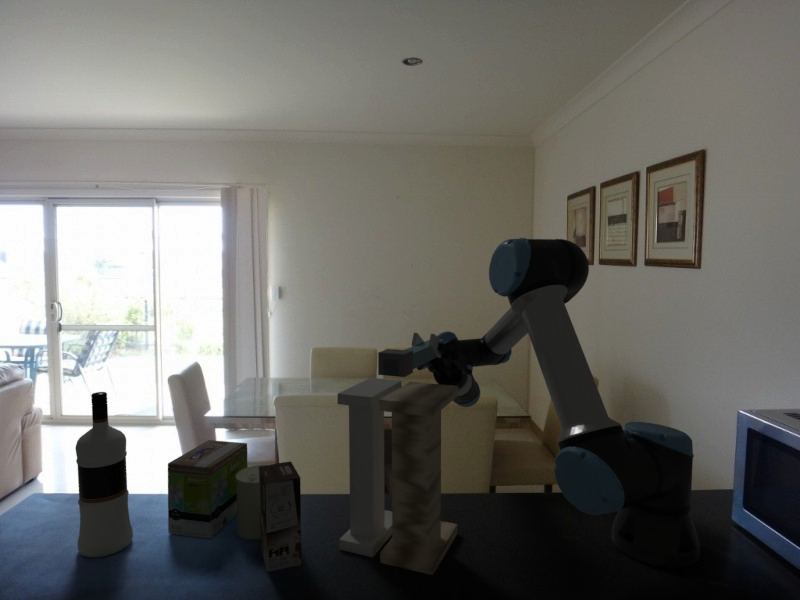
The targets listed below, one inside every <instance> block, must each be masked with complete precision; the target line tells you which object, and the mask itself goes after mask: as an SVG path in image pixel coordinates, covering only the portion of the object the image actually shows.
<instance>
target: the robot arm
mask: <svg viewBox="0 0 800 600" xmlns="http://www.w3.org/2000/svg"><path fill="white" fill-rule="evenodd" d="M588 260H589V259H588V257H587V255H586V253H585V251H584V250H583V249H582V248H581V247H580V246H579V245H578V244H576V243H574V242H573V241H570V240H568V239H564V238H555V239H553V238H548V239H547V238H526V237H519V238H508V239H506V240H503V241H502V242H500V243H499V245H498V246H497V247H496V249H495V250H494V252H493V253H492V256H491V258H490V262H489V267H488V278H489V284H490V286H491V289H492V290H493V291H494V293H495V294H498V296H500V297H507V299H508V302H509V305H510V308H509V309H508V310H507V311H506V312H505V313H504V314H503V315H502V316H501V318H500V319H498V320H497V322H495V324H493V326H492V327H491V328H490V329H489V330H488V331H487V332H486V333H485V334H484V335H482V337H481V338H480V337H479V338H470V339H469V338H468V339H458V337H457V335H456V334H455V333H454V332H451V331H443V332H440V333H438V334H435V333H430V338H429V340H430V341H429V347H430V348H431V350H432V351H433V352H434V353H435V355H436V356H437V357H436V358H434V359H432V360H431V361H429V362H427V363H425V364H423V365H421V366H419V367H417V368H416V370H417V371H422V370H425V369H427V370H428V371H429V372H430V373H432V375H433V377H434V380H435V382H436V384H442V385H453V386H458V397H456V398H455V399H454V400H453V401H452V402H454V403H455V404H456V405H458V406H460V407H463V408H469V407H473V406H474V405H475V404H477V403H478V402H479V400H480V398H481V389H480V386H479V383H478V381H476V379H475V378H474V375H473V369H474V367H475V368H476V367H486V366H498V365H500V364H505V363H507V362H508V361H509V360H510V359H511V355H512V354H513V353H512V348H513V347H514V346H516V345H517V344H518V343H519V342H520V341H521V340H522V339H523V338H525V336H527V335H528V336H529V340H530V343H531V345H532V348H533V350H534V353H535V356H536V359H537V363H538V364H539V368H540V370H541V373H542V375H543V379H544V382H545V385H546V389H547V390H548V393H549V395H550V399H551V401H552V404H553V407H554V410H555V414H556V416H557V419H558V422H559V425H560V427H561V433H560V435H559V437H558V439H557V444H558V447H559V450H560V451H559V452H558V453H557V454H556V456H555V458H554V464H555V465H554V467H553V471H554V472H553V473H554V478H555V480H556V483H557V486H558V488H559V490H560V492H561V493H562V495H563V496H564V497H565V499H566V500H567V501H568V502H569V503H570V504H571V505H572V506H574V507H576V509H577V510H579V511H580V512H582V513H585V514H587V515H592V516H593V515H594V516H597V515H598V516H600V515H605V514H612V513H617V514H616V515H615V518H614V520H613V523H612V526H611V541H612V543H613V545H614V546H615V547H616V548H617V549H618V551H620V552H621V553H623V554H625V555H626V556H628V557H630V558H632V559H633V560H636V561H638V562H641V563H644V564H647V565H651V566H655V567H661V568H667V569H668V568H669V569H671V568H672V569H680V568H687V567H691V566H693V565H694V564H696V563H697V562H698V561H699V560H700V557H701V552H700V551H701V544H700V539H699V536H698V533H697V530H696V527H695V523H694V520H693V517H692V513H691V508H692V506H691V503H692V482H693V461H694V457H695V455H694V452H693V451H694V450H693V449H694V447H693V440H692V438H691V437H690V435H688V434H687V433H685V432H684V431H682V430H680V429H676V428H673V427H671V426H666V425H662V424H658V423H652V422H644V421H628V422H626V423H625V425H624V429H623V426H622V424H621V423H619V422H618V421H616V420H614V419H612V418H611V417H610V416H609V415H608V413H607V409H606V407H605V404H604V402H603V399H602V397H601V394H600V391H599V389H598V386H597V384H596V381H595V378H594V376H593V374H592V370H591V368H590V365H589V364H588V363H589V362H588V360H587V358H586V356H585V353H584V349H583V348H582V345H581V343H580V340H579V337H578V335H577V333H576V330H575V327H574V324H573V322H572V319H571V317H570V315H569V312H568V309H567V307H566V304H567V303H569V302H570V301H571V300H572V299H573V298H574V297H576V296H577V295H578V293H580V291H581V290H582V288H584V286H585V284H586V282H587V279H588V277H589V272H590V266H589V264H590V263H589V261H588ZM439 339H441V340H444V344H443V343H441V342H440V341H439ZM423 342H425V340H424V339H423V338H422V337H421V336H420V334H419V333H418V332H413V336H412V341H411V347H413V346H415V345H418V344H420V343H423Z"/></svg>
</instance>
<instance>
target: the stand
mask: <svg viewBox="0 0 800 600" xmlns="http://www.w3.org/2000/svg"><path fill="white" fill-rule="evenodd" d="M400 387H402V380H396V379H388V378H387V379H385V378H375V377H369V378H368V379H366V380H363V381H362V382H359V383H357V384H355V385H353V386H350V387H348V388H346V389H344V390H343V391H340V392H338V393H337V394H336V395H337V405H341V406H342V405H343V406H348V439H349V440H348V447H349V449H348V450H349V451H348V453H349V455H348V456H349V457H348V458H349V459H348V460H349V529H348V530H347V531H346V532H345V533H344V534H343V535H342V536H341V537H340V538H339V539H338V540H339V542H338V543H339V546H338V547H339V550H340V551H343V552H349V553H353V554H356V555H361V556H365V557H368V558H369V557H370V558H374V557H375V556H376V554H377V553H378V552H380V550H381V549H382V547H383V546H384V545H385V544H386V542H387V541H388V540H390V539H391V537H392V510H386V508H385V411H379V400H380V399H381V398H383V397H385V396H387V395H388V394H390V393H392V392H393V391H395V390H397V389H399V388H400Z"/></svg>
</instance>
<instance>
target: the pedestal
mask: <svg viewBox="0 0 800 600" xmlns="http://www.w3.org/2000/svg"><path fill="white" fill-rule="evenodd" d="M456 397H458V386H453V385H442V384H438V383H428V382H417V381H409V382H408V383H406V384H404V385H401V387H400V388H399V389H397V390H395V391H393V392H392V393H390V394H388V395H387V396H385V397H383V398H381V399H380V400H379V411H384V412H385V413H386V412H387V413H391V495H392V496H391V501H392V502H391V509H392V510H391V511H392V535H391V538H390V539H389V541H388V542H387V543H386V545H385V546H384V547H383V549H382V548H381V550H380V551H379V553H380V554H379V555H380V557H379V558H380V560H379V561H380V563H381V564H384V565H389V566H393V567H397V568H401V569H405V570H409V571H414V572H417V573H422V574H426V575H431V576H433V575H434V574H435V573H436V571H437V569H438V567H439V566H440V564H441V562H442V560H443V559H444V557H445V555H446V554H447V552H448V550H449V549H450V547H451V545H452V544H453V543H454V540H456V537H457V536H458V524H457V523H453V522H447V521H443V520H442V410H443V409H444V408H446V407H447V406H448V405H449V404H450V403H452V402H454V401H453V400H454V399H455V398H456Z"/></svg>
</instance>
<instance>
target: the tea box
mask: <svg viewBox="0 0 800 600" xmlns="http://www.w3.org/2000/svg"><path fill="white" fill-rule="evenodd" d="M248 467H249V466H248V443H246V442H237V441H236V442H235V441H225V440H211V439H208V440H206V441H205V442H202V443H201V444H200V445H198V446H196V447H194V448H192V449H191V450H189V451H187V452H186V453H183V454H182V455H180V456H178V457H177V458H175V459H173V460H171V461H170V462H168V464H167V512H168V513H167V517H168V518H167V524H168V525H167V527H168V529H167V530H168V531H167V532H168V534H171V535H176V536H184V537H192V538H198V539H199V538H200V539H212V538H213V537H214V536H215V535H216V534H217V533H218V532H219V531H220V530H222V529H223V528H224V527H225V526H226V525H227V524H229V522H230V521H232V520H233V519H235V517H237V489H236V474H237V473H238V472H239V471H241V470H242V469H245V468H248Z"/></svg>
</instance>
